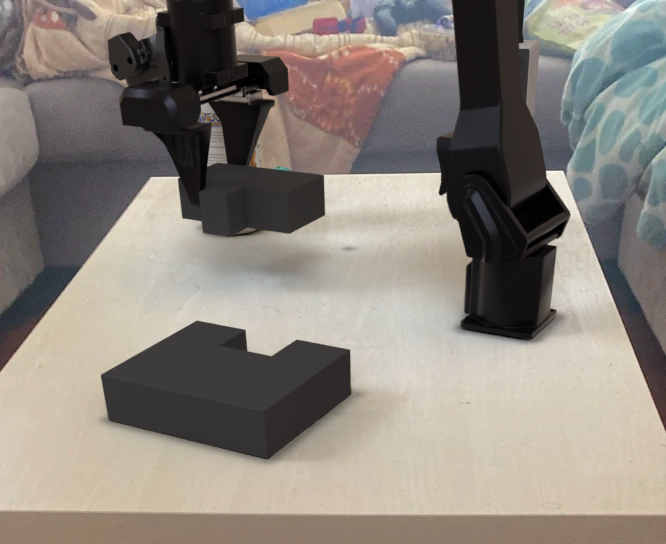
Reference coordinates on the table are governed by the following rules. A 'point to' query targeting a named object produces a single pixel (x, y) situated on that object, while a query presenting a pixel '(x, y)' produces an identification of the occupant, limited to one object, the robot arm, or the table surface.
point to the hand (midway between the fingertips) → (217, 194)
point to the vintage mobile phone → (527, 61)
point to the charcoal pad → (227, 389)
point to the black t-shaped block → (255, 199)
